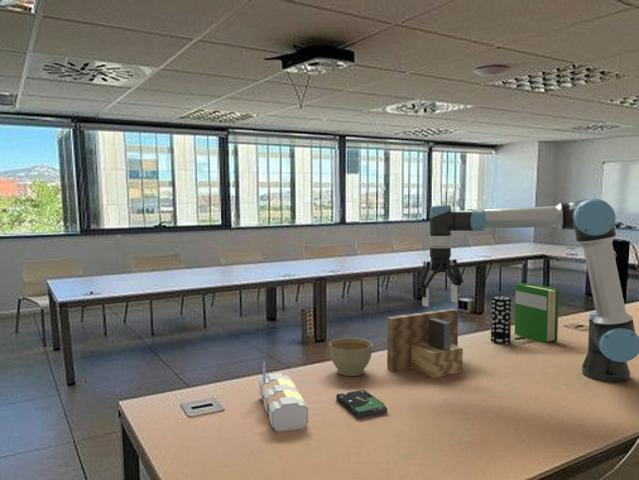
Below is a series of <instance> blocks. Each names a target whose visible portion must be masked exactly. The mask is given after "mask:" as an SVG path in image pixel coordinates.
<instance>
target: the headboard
mask: <svg viewBox="0 0 639 480" xmlns="http://www.w3.org/2000/svg"><path fill="white" fill-rule="evenodd" d="M431 318H436V319H440V320H443V321H446V322H449V323H451V346H450V350H447V351H443V350H439V349H436V348H434V347H432V346H430V345H428V319H431ZM386 323H387V326H386V327H387V328H386V329H387V331H386V332H387V336H386V337H387V341H386V343H387V345H386V348H387V349H386V350H387V352H386V354H387V357H386V358H387V359H386V361H387V362H386V364H387V366H386V367H387V370H388V369H389V370H388V371H390V372H396V370H397V371H401V370H406V369H413V370H415V371H418V372H419V373H422V374H424V375H426V376H427V377H430V378H431V379H434V378H440V377H444V376H449V375H453V374H458V373H463V362H464V361H463V360H464V359H463V355H464V354H463V353H464V351H463V349H464V348H463V347H460V346H458V345H459V343H458V342H459V341H458V340H459V309H456V308H447V309H440V310H432V311H424V312H417V313H409V314H400V315H394V316H388V317H387V322H386Z"/></svg>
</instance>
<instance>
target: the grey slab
mask: <svg viewBox="0 0 639 480" xmlns="http://www.w3.org/2000/svg"><path fill="white" fill-rule="evenodd" d="M428 345H430V346H432V347H434V348H436V349H439V350H443V351H447V350H450V346H451V323H449V322H446V321H443V320H440V319H436V318H431V319H428Z"/></svg>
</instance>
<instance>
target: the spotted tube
mask: <svg viewBox="0 0 639 480" xmlns="http://www.w3.org/2000/svg"><path fill="white" fill-rule="evenodd" d="M490 309H491V311H490V312H491V314H490V315H491V316H490V319H491V320H490V321H491V322H490V342H491V343H494V344H498V345H509V344H511V336H512V335H511V333H512V332H511V331H512V328H511V327H512V326H511V325H512V320H511V319H512V297H509V296H503V295H502V296H501V295H497V296H496V295H494V296H492V297H491V308H490Z"/></svg>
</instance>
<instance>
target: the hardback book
mask: <svg viewBox="0 0 639 480" xmlns="http://www.w3.org/2000/svg"><path fill="white" fill-rule="evenodd" d="M559 295H560V289H559V288H555V287H550V286H543V285H538V284H534V283H533V284H532V283H528V282H526V283H517V284H515V305H514V306H515V309H514V310H515V312H514V313H515V314H514V335H516V334H517V335H516V336H519V335H520V336H519V337H522V336H523V337H522V338H525V337H526V339H528V338H529V339H528V340H531V341H535V342H538V343H542V344H545V345H547V344H548V342H554V343H558V338H559V337H558V333H559V299H560V296H559Z"/></svg>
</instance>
